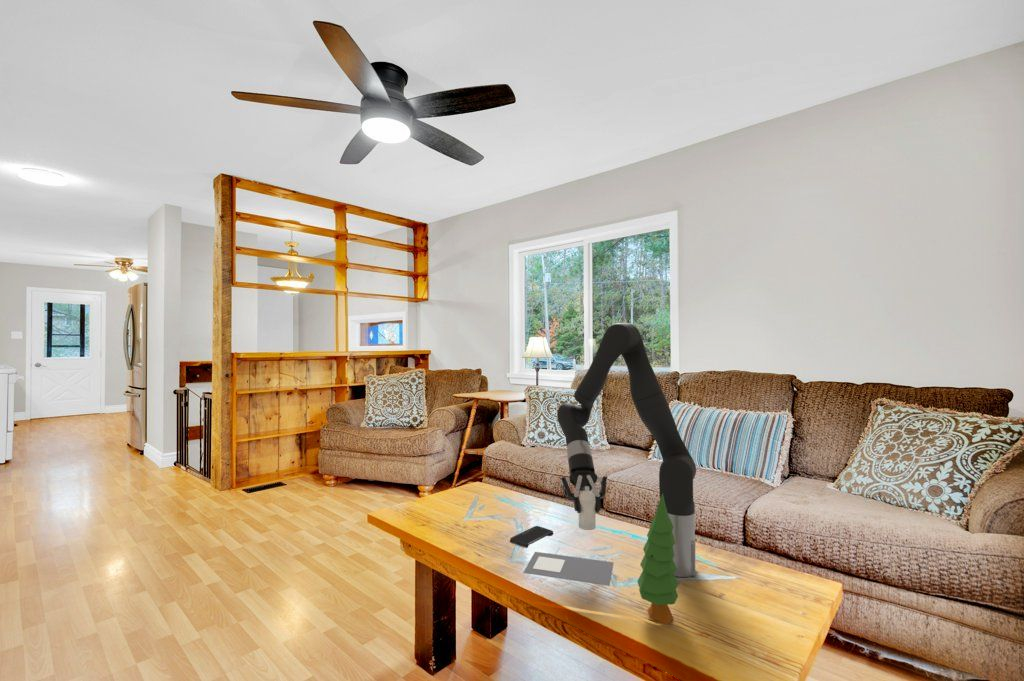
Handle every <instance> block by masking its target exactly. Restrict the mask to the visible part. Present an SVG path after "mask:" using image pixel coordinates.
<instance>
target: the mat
mask: <svg viewBox="0 0 1024 681" xmlns="http://www.w3.org/2000/svg"><path fill="white" fill-rule="evenodd" d="M613 568H614V561H606V560H598V559H591V558H584V557H583V558H582V557H577V556H569V555H563V554H554V553H546V552H540V551H534V553H533V555H532V556H531V558H530V560H528V564H527V565H526V566H525V569H524V570H523V572H522V573H523V574H529V575H536V576H541V577H542V576H543V577H548V578H549V577H550V578H555V579H556V578H557V579H563V580H569V581H577V582H581V583H582V582H583V583H590V584H596V585H603V586H611V579H612V572H613Z"/></svg>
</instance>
